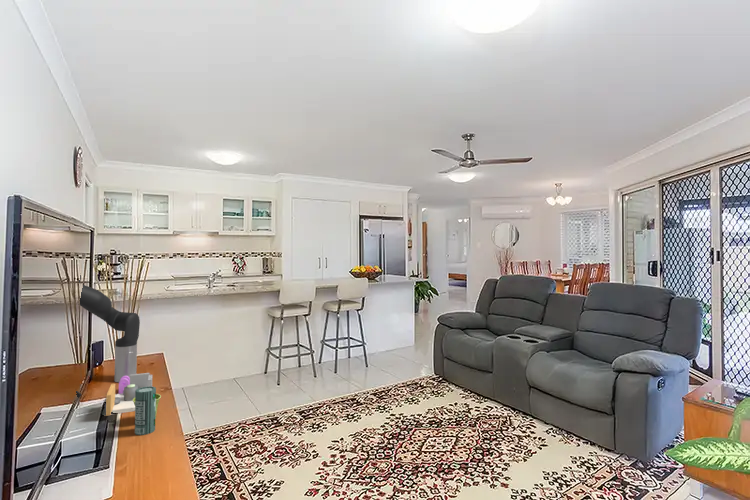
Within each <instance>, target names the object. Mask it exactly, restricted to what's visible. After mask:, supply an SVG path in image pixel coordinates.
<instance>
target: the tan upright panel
mask: <svg viewBox="0 0 750 500" xmlns="http://www.w3.org/2000/svg"><path fill="white" fill-rule="evenodd" d="M115 394H116V383H111V384H110V387H109V388H108V391H107V393H106V400H105V402H106V415H105V417H107V416H111V415H112V414H111V412H112V410H113V407H114V405H116V404H119V403H120V398H119V397H115Z"/></svg>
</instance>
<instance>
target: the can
mask: <svg viewBox="0 0 750 500" xmlns="http://www.w3.org/2000/svg"><path fill="white" fill-rule="evenodd" d="M156 394H157V387H155V386H153V385H152V386H149V387H142V388H139V389H136V390H135V411H134V434H135V435H136V436H146V435H149V434H152V433H154V432H155V431H156V419H155V412H156Z"/></svg>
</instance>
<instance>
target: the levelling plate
mask: <svg viewBox="0 0 750 500" xmlns="http://www.w3.org/2000/svg"><path fill="white" fill-rule="evenodd" d="M149 386H152V387H153V374H151V372H145V373H136V374H132V375H130V385H127V386H126V387H124V390H123V393H122V394H119V393H115V397H119V398H120V403H119V404H116V405H114V407H113V410H112V412H113V413H118V414H123V413H124V414H125V413H131V412H135V405H134V402H133V399H134V398H135V390H136V389H139V388H142V387H149Z"/></svg>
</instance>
